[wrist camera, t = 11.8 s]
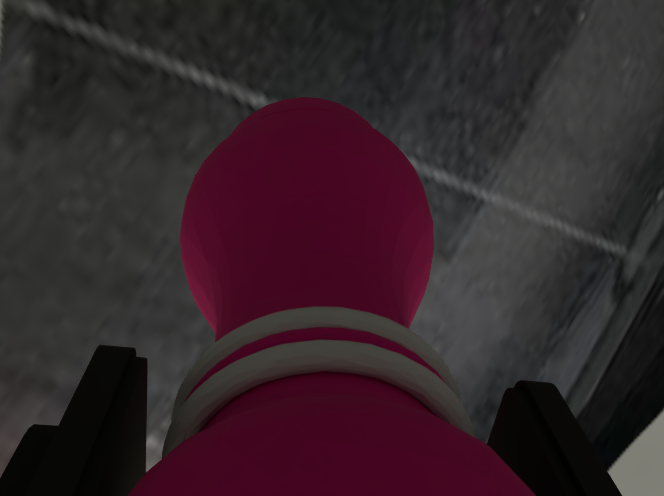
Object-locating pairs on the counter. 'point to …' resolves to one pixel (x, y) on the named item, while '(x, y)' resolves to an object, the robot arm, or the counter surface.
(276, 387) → the pepper mill
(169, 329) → the counter surface
